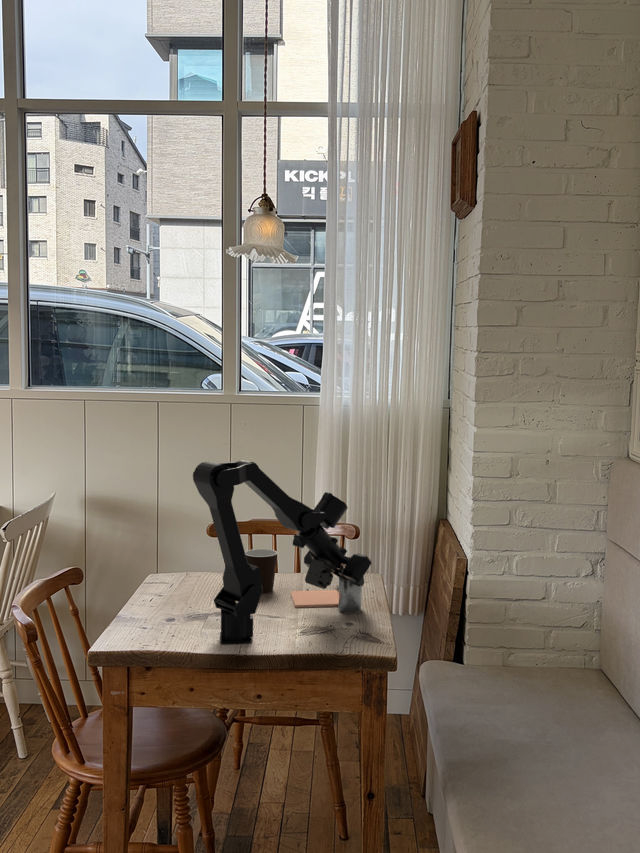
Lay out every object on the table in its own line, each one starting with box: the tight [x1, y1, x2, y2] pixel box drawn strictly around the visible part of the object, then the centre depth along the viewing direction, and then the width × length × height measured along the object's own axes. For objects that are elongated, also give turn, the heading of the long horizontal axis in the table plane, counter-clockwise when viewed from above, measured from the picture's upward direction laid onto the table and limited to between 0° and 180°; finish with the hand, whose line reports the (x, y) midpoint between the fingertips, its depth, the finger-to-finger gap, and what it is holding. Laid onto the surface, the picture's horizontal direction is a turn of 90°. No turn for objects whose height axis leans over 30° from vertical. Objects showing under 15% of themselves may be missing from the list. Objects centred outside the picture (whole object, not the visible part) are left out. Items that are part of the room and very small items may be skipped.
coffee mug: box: [244, 548, 278, 595], centre depth 217 cm, size 12×9×10 cm
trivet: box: [290, 589, 339, 609], centre depth 209 cm, size 12×12×1 cm
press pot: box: [338, 568, 363, 614], centre depth 200 cm, size 6×6×10 cm
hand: (354, 581), depth 201 cm, fingers closed on press pot, 5 cm apart
